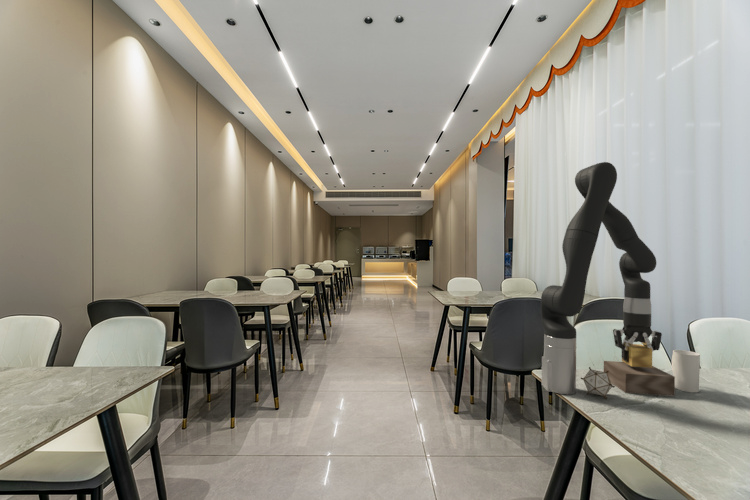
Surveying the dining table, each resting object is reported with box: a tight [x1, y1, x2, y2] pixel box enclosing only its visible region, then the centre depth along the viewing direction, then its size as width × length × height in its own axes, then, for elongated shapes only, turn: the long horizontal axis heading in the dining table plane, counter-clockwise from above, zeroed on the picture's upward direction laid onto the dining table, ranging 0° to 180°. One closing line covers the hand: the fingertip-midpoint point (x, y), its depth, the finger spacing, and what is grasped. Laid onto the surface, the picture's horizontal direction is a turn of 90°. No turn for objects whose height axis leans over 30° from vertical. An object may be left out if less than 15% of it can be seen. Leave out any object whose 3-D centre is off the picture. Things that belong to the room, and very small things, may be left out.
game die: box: [580, 366, 616, 400], centre depth 109 cm, size 9×8×10 cm
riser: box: [603, 360, 676, 397], centre depth 118 cm, size 14×14×6 cm
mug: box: [671, 349, 701, 394], centre depth 117 cm, size 10×7×12 cm, turn 171°
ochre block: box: [621, 343, 653, 368], centre depth 118 cm, size 6×6×6 cm
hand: (636, 361), depth 118 cm, fingers closed on ochre block, 6 cm apart
